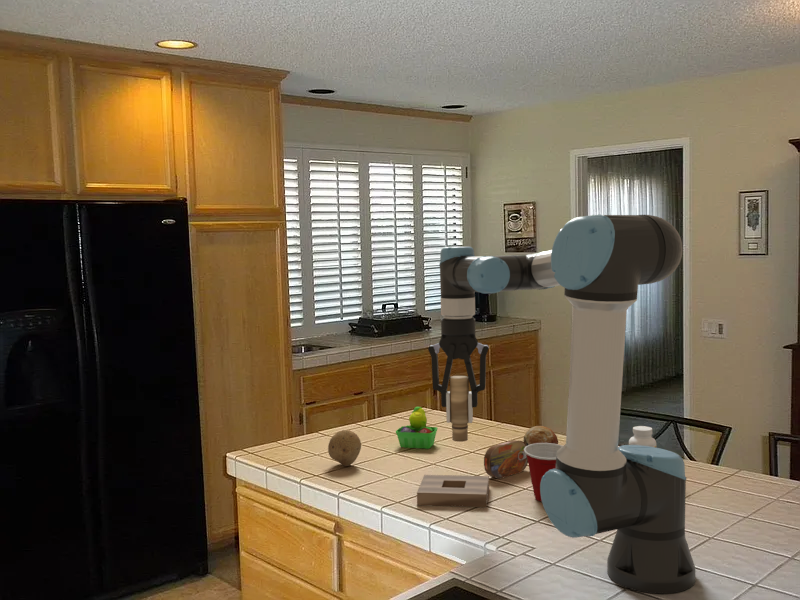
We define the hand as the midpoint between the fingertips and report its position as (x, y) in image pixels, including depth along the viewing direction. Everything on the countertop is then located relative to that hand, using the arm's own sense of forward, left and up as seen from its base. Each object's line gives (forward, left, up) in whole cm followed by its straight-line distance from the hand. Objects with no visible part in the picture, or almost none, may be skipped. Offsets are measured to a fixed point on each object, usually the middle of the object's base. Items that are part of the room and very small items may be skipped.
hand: (459, 421), depth 175 cm
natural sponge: (+34, +35, -21) cm, 53 cm away
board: (+11, +3, -21) cm, 24 cm away
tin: (+30, -9, -21) cm, 38 cm away
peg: (0, 0, -4) cm, 4 cm away
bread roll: (+59, -19, -21) cm, 65 cm away
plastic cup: (+11, -19, -21) cm, 31 cm away
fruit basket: (+57, +18, -21) cm, 64 cm away
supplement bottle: (+29, -43, -21) cm, 56 cm away
